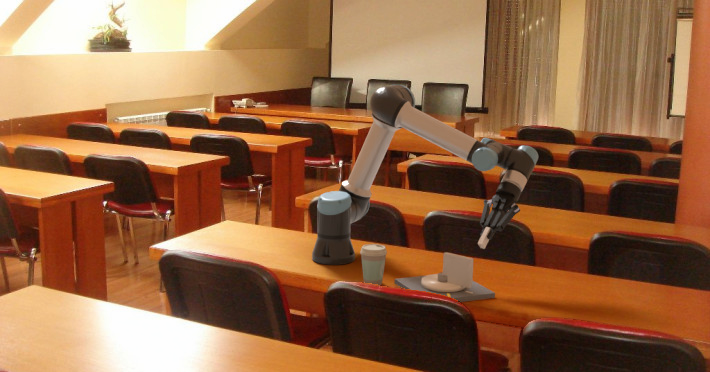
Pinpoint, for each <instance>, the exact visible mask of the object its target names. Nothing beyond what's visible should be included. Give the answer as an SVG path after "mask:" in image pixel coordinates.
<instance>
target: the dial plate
mask: <svg viewBox="0 0 710 372" xmlns="http://www.w3.org/2000/svg"><path fill="white" fill-rule="evenodd" d="M427 275H428V274H427ZM427 275H420V276H419V275H417V276H408V277H401V278H395V279H394V284H395V285H396V286H398V287H399V286H400V287H399V288H401V287H402V288H405V289H411V290H419V291H426V292H431V293H436V294H441V295H445V296H448V297H451V298H454V299H456V300H458V301H460V302H459V303H464V302H470V301H477V300H487V299H494V298H496V292H494V291H493V290H491V289H489V288H487V287H486V286H483V285H482V284H480V283H478V282H477V281H474V280H472V287H471V288H465V289H464V290H461V291H457V292H437V291H432V290H428V289H426V288H424V287H423V286H422V285H421V280H422V278H423V277H424V276H427ZM402 288H401V289H402Z"/></svg>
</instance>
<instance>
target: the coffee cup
mask: <svg viewBox="0 0 710 372" xmlns="http://www.w3.org/2000/svg"><path fill="white" fill-rule="evenodd" d="M359 253H360V255H361V264H362V265H361V268H362V277H363V283H364V282H365V283H372V284H378V286H381V285H382V284H383V277H384V271H385V264H386V257H387V254H388V251H387V247H386V246H385V245H382V244H377V243H367V244H364V245H362V247H361V249H360V252H359Z"/></svg>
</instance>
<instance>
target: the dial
mask: <svg viewBox="0 0 710 372" xmlns="http://www.w3.org/2000/svg"><path fill="white" fill-rule="evenodd" d="M473 275H474V258H472V257H469V256H468V257H467V256H465V255H460V254H456V253H452V252H447V251H446V252H443V260H442V272H439V273H433V274H432V273H431V274H427V276H426V275H423V276H424V277H423V278H422V280H421V285H422V286H423V287H424V288H426V289H428V290H432V291H437V292H457V291H461V290H464V289H465V288H471V287H472V280H473V277H474V276H473ZM473 281H474V280H473Z"/></svg>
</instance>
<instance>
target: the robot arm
mask: <svg viewBox="0 0 710 372" xmlns="http://www.w3.org/2000/svg"><path fill="white" fill-rule="evenodd" d="M369 100H370V101H369V108H370V111H371V112H372V113H371V118H372V120H373V122H372V124H371V126H370V128H369V131H368V134H367V135H366V137H365V140H364V142H363V145H362V147H361V148H360V149H361V150H360V151H359V154H358V156H357V159H356V161H355V163H354V165H353V167H352V170H351V172H350V174H349V176H348V179H346V180H343V181H342V183H341V185H340V186H339V189H338V190H336V191H335V190H334V191H332V190H331V191H329V192H328V191H326V192H324V193H322V194H320V195H319V196H318V199H317V205H316V209H317V212H316V214H317V221H316V222H317V231H316V232H317V234H316V235H317V237H316V241H315V243H314V246H313V250H312V253H311V259H312V261H314V262H315V263H317V264H321V265H333V266H336V265H337V266H339V265H347V264H351V263H353V262H354V261H355V259H356V253H355V249H354V246H353V242H352V240H351V226H352V225H351V224H353V223H355V222H357V221H360V220H361V219H362V218H363V217H365V216H366V214H367V213H368V211H369V208H370V203H371V202H370V199H371V197H372V196H373V195H372V191H371V187H372V185H373V182H374V181H375V179H376V175H377V173H378V171H379V169H380V167H381V165H382V162H383V160H384V158H385V156H386V153H387V151H388V149H389V147H390V144H391V142H392V140H393V139H394V138H393V137H394V136H395V133H396V131H398V130H401V129H402V128H403V129H404V130H407V131H408V132H411V133H412V134H414V135H416V136H418V137H421V138H422V139H424V140H426V141H427V142H430V143H431V144H434V145H436V146H438V147H440V148H441V149H444V150H445V151H448V152H449V153H451V154H453V155H455V156H457V157H459V158H461V159H463V160H465V161H467V162H469V163H470V164H472V165H473V167H474V169H476V170H477V171H479V172H487V171H491V170H493V169H494V168H496V167H499V168H501V169H503V170H506V172H505V173H504V175H503V177H502V179H501V181H500V183H499V185H498V186H497V187H496V188H497V189H496V191H495V195H493V196H492V198H491V199H484V200H483V209H482V213H481V217H480V220H479V224H480V226H481V227H482V229H481V232H480V235H479V236H480V237H479V239H478V242H477V245H478V246H479V248H480V249H482V250H485V249H486V247H487V245H488V243H489V241H490V240H493V237H494V236H495V233H496V232H503V230H504V229H505V228H506V227H507V225H509V223H510V221H512V220H513V218H514V217H515V215H517V214H518V213H519V212H520V211H521V209H520V206H519V205H518V204H517V202H518V201H519V198H520V196H521V194H522V192H523V190H524V189H525V186H526V184H527V182H528V180H529V179H530V176H531V174H532V173H533V172H534V171H533V170H534V169H535V167H536V164H537V162H538V160H539V154H538V151H537V150H536V149H535V148H534V147H532V146H530V145H524V144H523V145H520V146H518V148H513V147H511V146H508V145H506V144H503V143H502V142H498V141H497V140H495V139H492V138H487V137H483V138H482V139H481V141H480V140H478V139H476V138H475V137H472V136H471V135H468V134H466V133H465V132H463V131H461V130H459V129H456V128H454V127H453V126H451V125H449V124H447V123H445V122H443V121H441V120H439V119H437V118H435V117H433V116H431V115H429V114H427V113H425V112H423V111H422V110H419V109H417V108H416V99H415V94H414V93H413V91H412V90H411V89H410V88H409V87H407V86H405V85H403V84H391V85H386V86H385V85H384V86H381V87H379V88H377V89H375V91H374V92H372V94H371V97H370V99H369Z"/></svg>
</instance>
